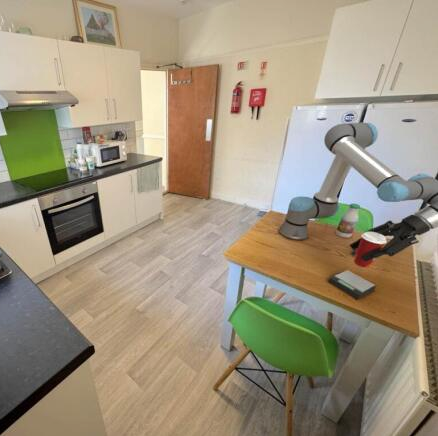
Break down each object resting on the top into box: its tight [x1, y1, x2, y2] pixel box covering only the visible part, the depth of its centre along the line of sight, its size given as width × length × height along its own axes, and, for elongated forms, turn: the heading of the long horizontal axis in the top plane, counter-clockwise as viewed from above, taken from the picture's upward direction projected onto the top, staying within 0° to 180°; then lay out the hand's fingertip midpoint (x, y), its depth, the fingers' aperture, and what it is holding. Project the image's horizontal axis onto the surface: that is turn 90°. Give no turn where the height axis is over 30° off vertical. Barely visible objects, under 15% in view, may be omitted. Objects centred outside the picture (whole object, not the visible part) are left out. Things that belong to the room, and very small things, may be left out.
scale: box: [327, 269, 377, 300], centre depth 106 cm, size 12×12×3 cm
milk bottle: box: [335, 203, 361, 239], centre depth 140 cm, size 8×8×20 cm
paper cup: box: [353, 231, 388, 269], centre depth 98 cm, size 8×8×14 cm
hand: (356, 253), depth 100 cm, fingers closed on paper cup, 8 cm apart
